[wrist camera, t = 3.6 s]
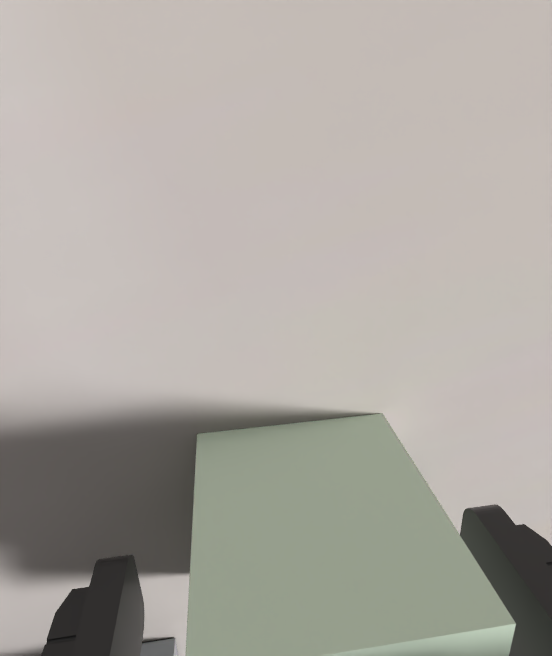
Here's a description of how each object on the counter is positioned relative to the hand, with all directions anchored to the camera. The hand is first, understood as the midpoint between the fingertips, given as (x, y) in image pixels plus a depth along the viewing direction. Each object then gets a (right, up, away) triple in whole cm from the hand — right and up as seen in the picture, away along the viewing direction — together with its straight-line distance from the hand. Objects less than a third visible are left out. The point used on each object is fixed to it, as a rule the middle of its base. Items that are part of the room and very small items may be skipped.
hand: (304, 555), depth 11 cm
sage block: (0, +1, +2) cm, 2 cm away
